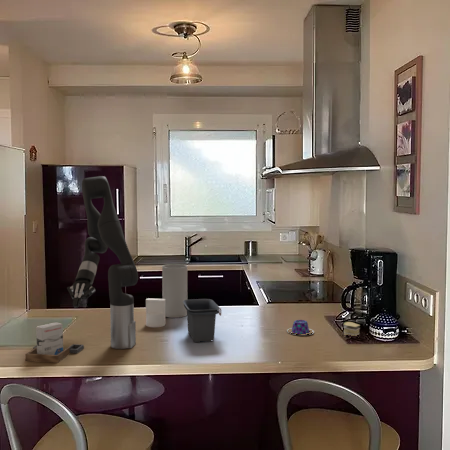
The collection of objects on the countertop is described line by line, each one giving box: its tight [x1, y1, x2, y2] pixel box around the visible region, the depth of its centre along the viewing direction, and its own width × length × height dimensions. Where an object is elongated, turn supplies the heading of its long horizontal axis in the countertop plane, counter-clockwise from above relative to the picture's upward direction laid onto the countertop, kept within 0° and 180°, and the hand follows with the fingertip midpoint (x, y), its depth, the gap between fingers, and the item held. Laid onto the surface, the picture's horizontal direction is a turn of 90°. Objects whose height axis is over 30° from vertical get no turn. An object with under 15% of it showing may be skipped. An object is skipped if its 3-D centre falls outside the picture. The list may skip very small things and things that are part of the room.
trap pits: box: [32, 343, 85, 354], centre depth 189 cm, size 18×6×2 cm, turn 83°
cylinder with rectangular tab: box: [145, 297, 166, 328], centre depth 225 cm, size 9×9×12 cm
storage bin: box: [183, 298, 222, 343], centre depth 207 cm, size 21×16×14 cm
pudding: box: [286, 319, 315, 336], centre depth 215 cm, size 12×12×5 cm
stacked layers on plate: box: [343, 321, 361, 336], centre depth 209 cm, size 10×9×6 cm
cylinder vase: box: [161, 263, 188, 319], centre depth 242 cm, size 12×12×25 cm
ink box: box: [35, 321, 64, 355], centre depth 183 cm, size 8×5×12 cm, turn 139°
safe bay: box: [24, 346, 71, 363], centre depth 181 cm, size 13×9×2 cm
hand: (75, 306), depth 203 cm, fingers closed
